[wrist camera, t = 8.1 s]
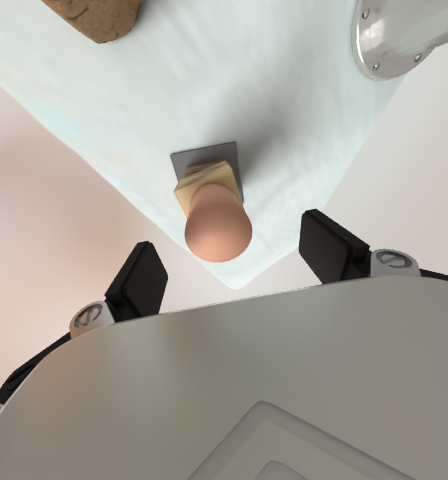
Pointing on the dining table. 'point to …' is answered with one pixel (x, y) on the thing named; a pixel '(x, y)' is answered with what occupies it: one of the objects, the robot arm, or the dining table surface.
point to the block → (98, 16)
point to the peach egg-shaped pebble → (217, 224)
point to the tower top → (209, 175)
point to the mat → (207, 159)
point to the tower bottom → (200, 167)
